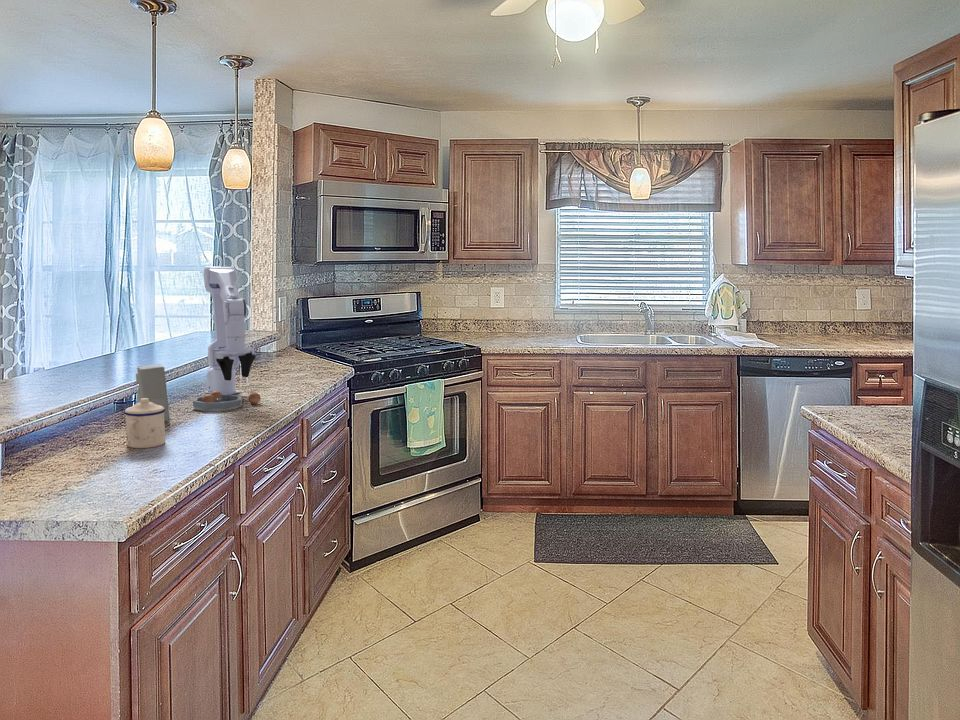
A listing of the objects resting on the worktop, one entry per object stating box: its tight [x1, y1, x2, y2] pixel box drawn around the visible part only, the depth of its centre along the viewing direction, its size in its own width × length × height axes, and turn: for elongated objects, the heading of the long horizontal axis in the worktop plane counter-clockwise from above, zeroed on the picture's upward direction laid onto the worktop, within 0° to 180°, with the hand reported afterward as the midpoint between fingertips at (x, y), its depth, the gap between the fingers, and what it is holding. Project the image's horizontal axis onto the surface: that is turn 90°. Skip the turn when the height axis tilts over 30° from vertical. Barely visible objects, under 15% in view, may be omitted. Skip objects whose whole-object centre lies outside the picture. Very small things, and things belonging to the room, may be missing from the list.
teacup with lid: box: [123, 398, 166, 449], centre depth 168 cm, size 12×9×12 cm
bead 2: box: [247, 391, 261, 405], centre depth 221 cm, size 4×4×4 cm
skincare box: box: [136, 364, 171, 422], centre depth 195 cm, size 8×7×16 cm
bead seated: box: [202, 393, 215, 403], centre depth 212 cm, size 4×4×4 cm
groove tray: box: [192, 394, 243, 412], centre depth 216 cm, size 14×14×3 cm
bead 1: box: [211, 391, 222, 399], centre depth 218 cm, size 4×4×4 cm
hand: (236, 378), depth 219 cm, fingers open, 7 cm apart
